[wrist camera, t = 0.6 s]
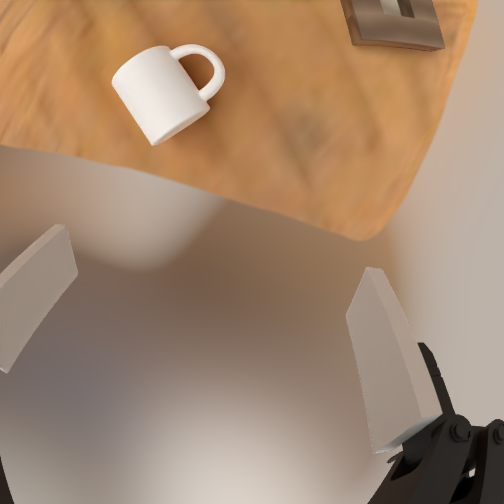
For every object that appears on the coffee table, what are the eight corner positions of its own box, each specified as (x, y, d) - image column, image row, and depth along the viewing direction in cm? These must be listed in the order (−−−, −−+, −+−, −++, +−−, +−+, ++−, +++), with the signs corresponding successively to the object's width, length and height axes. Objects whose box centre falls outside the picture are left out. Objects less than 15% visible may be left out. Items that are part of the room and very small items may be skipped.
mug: (167, 140, 33) (142, 152, 26) (130, 86, 29) (98, 86, 22) (244, 91, 29) (236, 88, 23) (203, 33, 25) (185, 17, 18)
